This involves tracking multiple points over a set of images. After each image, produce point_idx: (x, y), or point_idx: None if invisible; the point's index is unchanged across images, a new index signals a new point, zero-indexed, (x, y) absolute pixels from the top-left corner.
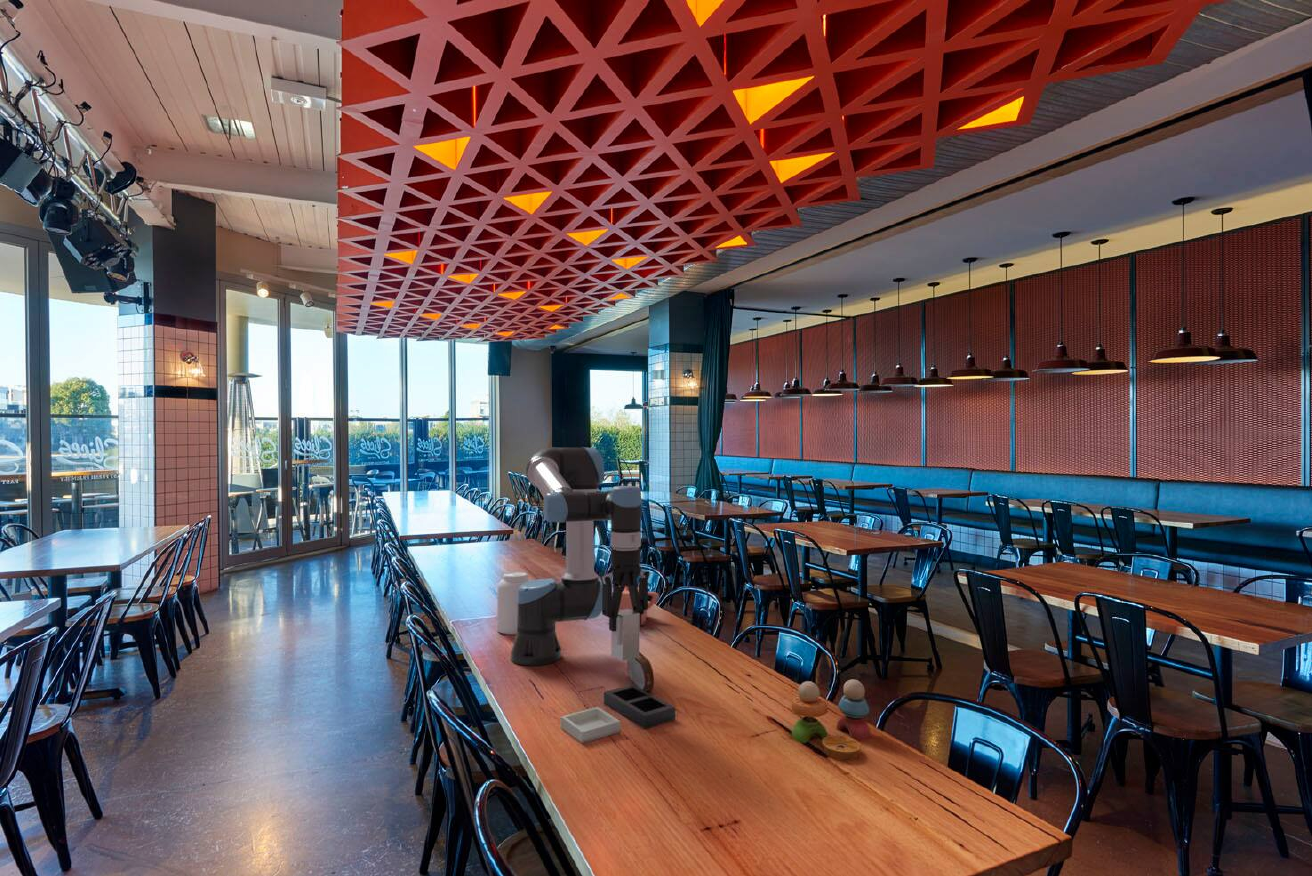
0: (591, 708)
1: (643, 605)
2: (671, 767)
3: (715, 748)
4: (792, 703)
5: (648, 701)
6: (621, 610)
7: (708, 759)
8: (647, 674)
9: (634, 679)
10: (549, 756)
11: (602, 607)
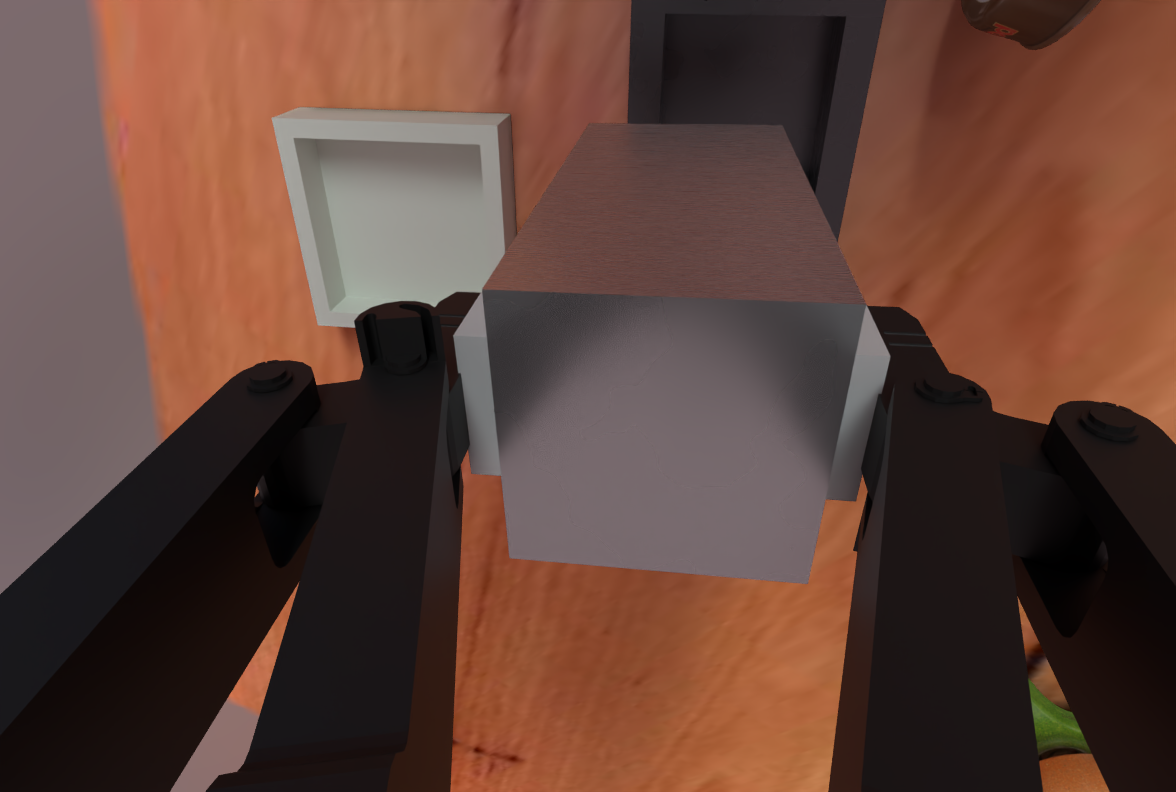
0: (456, 124)
1: (1024, 578)
2: (531, 579)
3: (727, 589)
4: (1048, 788)
5: None
6: (679, 329)
7: (655, 611)
8: (1005, 26)
9: None
10: (197, 310)
11: (176, 445)
